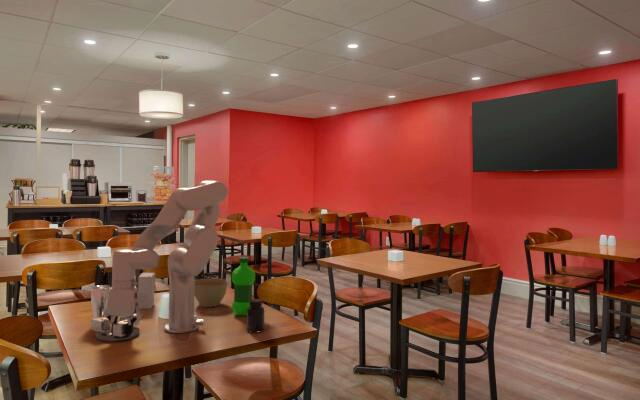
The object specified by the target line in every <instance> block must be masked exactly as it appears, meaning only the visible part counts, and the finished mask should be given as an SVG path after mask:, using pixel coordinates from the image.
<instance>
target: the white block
mask: <svg viewBox="0 0 640 400" xmlns="http://www.w3.org/2000/svg"><path fill="white" fill-rule="evenodd" d="M90 323H91V324H90V329H91V331H95V332H98V333H101V332H105V331H108V330H110V327H111V323H110V321H109V320H108V319H107V318H104V317H100V316H99V317H96V318H93V317H92V318H91V319H90Z"/></svg>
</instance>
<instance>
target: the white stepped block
mask: <svg viewBox="0 0 640 400" xmlns="http://www.w3.org/2000/svg"><path fill="white" fill-rule="evenodd" d="M135 316H136V314H134V317H135ZM123 320H127V317H123V316H119V322H120V321H123ZM138 325H140V318H139V319H137V320H136V321H135V322H134V323H133V326H134V327H137V326H138Z"/></svg>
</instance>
